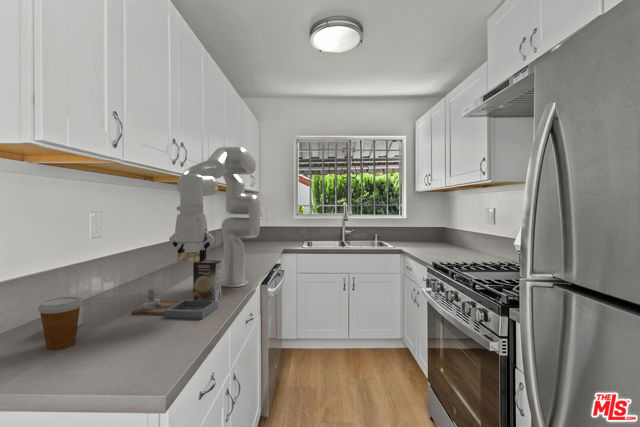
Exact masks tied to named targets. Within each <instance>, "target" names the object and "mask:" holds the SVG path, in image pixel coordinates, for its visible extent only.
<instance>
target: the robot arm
mask: <svg viewBox="0 0 640 427" xmlns="http://www.w3.org/2000/svg"><path fill="white" fill-rule="evenodd" d="M256 165H257V164H256V160H255V158H254V156H253V155H252V154H251V153H250V152H249V151H248V150H247V149H246V148H244V147H242V146H221V147H217V149H215V150H214V151H213V152H212V154H211V155H210V156H209V157H208V159H207V160H204V161H202V162H200V163H197V164H194V165H192V166H190V167H188V168H186V169H185V170H184V171H183V172H182V173H181V174H180V175H179V177H178V179H177V183H176V189H177V191H178V193H179V206H177V207H176V211H179V213H177V216H176V222H175V227H174V232H173V234H172V235H171V236H169V241H170V242H171V243H172V246H174V248H175V249H176V250H177V254H179V253H183V252H186V251H185V248H184V247H185V245H186V244H198V245H199V247H200V249H199V251H200V262H203V261H205V260H207V250H208V248H209V247H210V246H211V245H212V244H213V243H214V241H215V239H216V238H215V237H214V236H213V235H212V234H211V233H210V232H208V223H207V218H206V213H204V197H211V196H213V195H215V194H216V193H217V192H218V190H219V189H218V188H219V183H218V180H217V179H220V178H221V177H222V178H223V179H224V181H225V190H226V191H225V210H226V212H227V213H228V214H229V215H240V216H241V215H245V216H247V215H248V217H243V216H242V217H237V216H236V217H233V216H232V217H231V216H230V217H228V218H227V217H226V218H225V219H223V220H222V223H221V232H222V239H223V281H222V280H221V287H223V288H239V287H240V288H241V287H245V286H248V285H249V281H248V280H246V273H245V272H246V271H245V270H246V268H245V264H246V262H245V261H246V258H245V257H246V256H245V255H246V254H245V253H246V250H245V245H244V243H243V241H242V239H253V238H257V237H258V236H259V234H260V228H261V202H260V198H259V196H257V195H256V194H251V193H250V194H248V193H247V194H246V192H245V190H246V189H245V187H246V186H245V185H246V184H245V182H244V180H243V179H242V177H241V176H240V175H251V174H253V173H255V172H256V168H257V166H256Z"/></svg>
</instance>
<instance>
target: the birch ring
mask: <svg viewBox="0 0 640 427" xmlns="http://www.w3.org/2000/svg"><path fill="white" fill-rule="evenodd" d="M176 258H177V262H186V263H187V262H190V263H191V262H192V263H194V262H198V261H200V250H199V251H196V250H195V251H193V250H191V251H189V250H188V251H185V252H183V253H179V254H178V253H177V256H176Z"/></svg>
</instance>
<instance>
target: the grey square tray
mask: <svg viewBox="0 0 640 427" xmlns="http://www.w3.org/2000/svg"><path fill="white" fill-rule="evenodd" d="M180 301H181V302H179V303H177V304H175V305H173V306H172V307H170V308H168V309H166V310H164V314H165V315H164V319H183V320H184V319H187V320H190V319H191V320H204V319H205V318H206V317H208V316H210V314H211V313H213V312H214V311H216V310H217V309H218V308H219V303H218V301H208V300H193V299H183V300H180Z"/></svg>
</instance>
